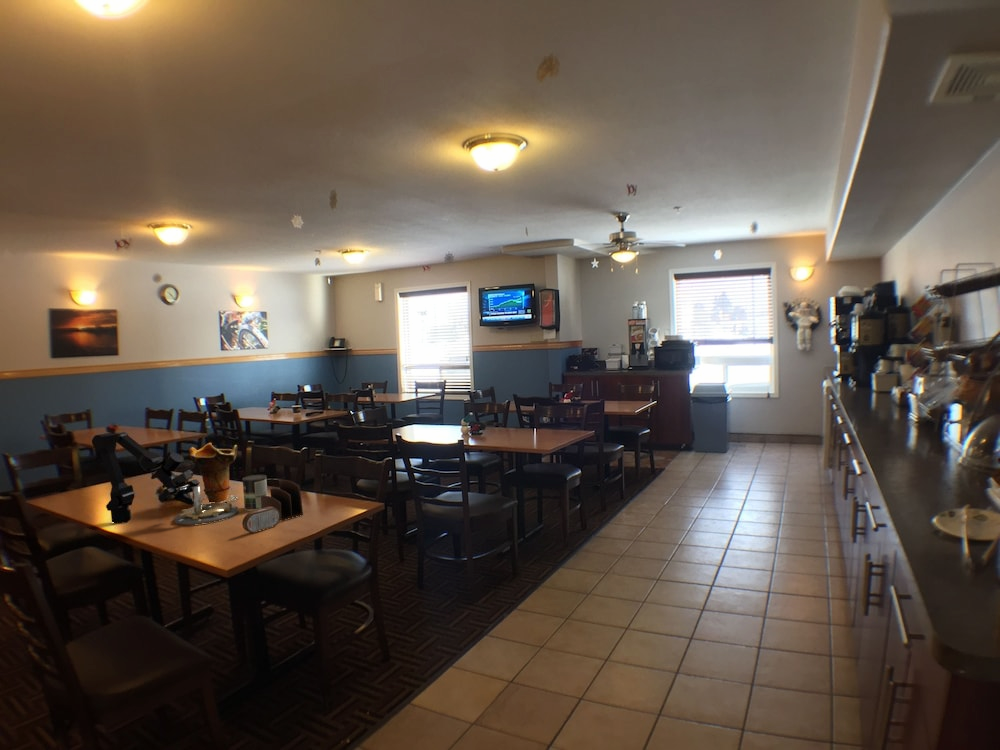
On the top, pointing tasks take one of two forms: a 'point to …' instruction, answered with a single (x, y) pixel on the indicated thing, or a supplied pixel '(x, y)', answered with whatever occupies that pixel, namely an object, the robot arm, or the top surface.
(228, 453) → the decorative vase
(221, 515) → the base plate
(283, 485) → the letter holder
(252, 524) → the tin
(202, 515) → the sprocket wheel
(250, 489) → the coffee can
